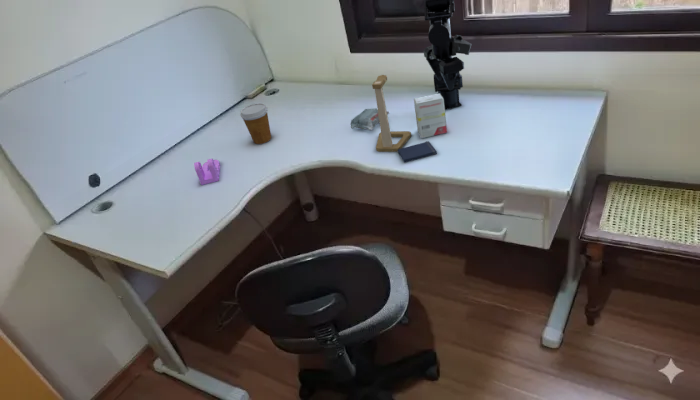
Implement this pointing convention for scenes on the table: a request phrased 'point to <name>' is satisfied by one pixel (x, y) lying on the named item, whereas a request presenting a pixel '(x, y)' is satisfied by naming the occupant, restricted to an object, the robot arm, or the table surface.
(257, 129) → the disposable coffee cup
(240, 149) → the table surface
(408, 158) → the notepad
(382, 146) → the headphone stand
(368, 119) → the packaged food
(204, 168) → the bracket
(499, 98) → the table surface
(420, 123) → the ink box
